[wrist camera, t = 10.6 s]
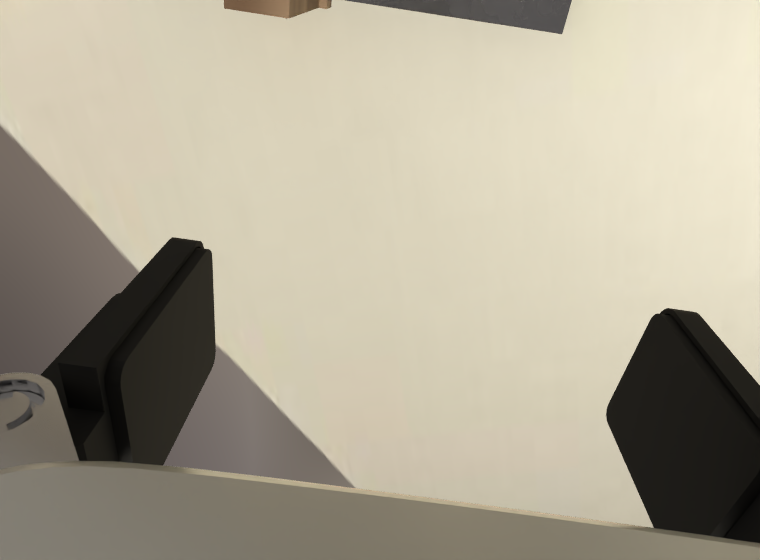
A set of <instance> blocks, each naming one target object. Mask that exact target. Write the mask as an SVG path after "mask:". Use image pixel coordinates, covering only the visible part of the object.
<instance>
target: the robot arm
mask: <svg viewBox="0 0 760 560" xmlns="http://www.w3.org/2000/svg"><path fill="white" fill-rule="evenodd" d="M215 352H216V351H215V321H214V294H213V267H212V253H211V251H210V250H209V249H204V247H203V244H202V242H201V241H195V240H188V239H181V238H171V239H170V240H169V241H168V242H167V243H166V244H165V245H164V246H163V247H162V248H161V250H160V251H159V252H158V253H157V254H156V255H155V256H154V257H153V258H152V259H151V261H150V262H149V263H148V264H147V265H146V266H145V267H144V268H143V269H142V270H141V272H140V273H139V274H138V275H137V276H136V277H135V278H134V279H133V280H132V281H131V283H130V284H129V285H128V286H127V287H126V288H125V289H124V290H123V291H122V292H121V293H119V294H116V295H115V296H114V297H112V298H111V299H110V301H108V303H107V304H106V305H105V306H104V307H103V308H102V309H101V310H100V311H99V312H98V313H97V314H96V316H95V317H94V318H93V319H92V320H91V321H90V322H89V323H88V324H87V325H86V327H85V328H84V329H83V330H82V331H81V332H80V333H79V334H78V335H77V336H76V337H75V338H74V339H73V340H72V342H71V343H70V344H69V345H68V346H67V347H66V348H65V349H64V350H63V351H62V352H61V353H60V355H59V356H58V357H57V358H56V359H55V360H54V361H53V362H52V363H51V364H50V365H49V366H48V368H47V369H46V370H45V371H44V372H43V373H42V374H41V375H36V374H31V373H8V374H2V375H0V560H760V385H759V384H758V383H757V382H756V381H755V379H754V378H753V377H752V376H751V375H750V374H749V372H748V371H747V370H746V369H745V368H744V367H743V365H742V364H741V363H740V362H739V361H738V359H737V358H736V357H735V356H734V355H733V354H732V352H731V351H730V350H729V349H728V348H727V347H726V345H725V344H724V343H723V342H722V341H721V339H720V338H719V337H718V336H717V335H716V334H715V332H714V331H713V330H712V329H711V328H710V327H709V325H708V324H707V323H706V322H705V321H704V319H703V318H702V317H701V316H700V315H699V314H698V313H696V312H691V311H684V310H677V309H670V308H667V309H664V310H663V311H662V312H661V313H660V314H655V315H654V316H653V317H652V318H651V320H650V322H649V324H648V326H647V328H646V330H645V332H644V334H643V336H642V338H641V340H640V342H639V344H638V346H637V348H636V350H635V352H634V354H633V356H632V358H631V360H630V362H629V364H628V366H627V368H626V370H625V372H624V374H623V376H622V378H621V380H620V382H619V384H618V386H617V388H616V390H615V392H614V394H613V396H612V398H611V400H610V402H609V404H608V407H607V412H606V416H607V422H608V424H609V427H610V429H611V431H612V434H613V436H614V438H615V440H616V443H617V445H618V447H619V449H620V452H621V454H622V456H623V459H624V461H625V463H626V465H627V468H628V470H629V472H630V474H631V477H632V479H633V481H634V484H635V486H636V488H637V490H638V493H639V495H640V497H641V499H642V502H643V504H644V506H645V508H646V511H647V513H648V515H649V518H650V520H651V522H652V524H653V527H654V528H650V527H642V526H635V525H628V524H621V523H613V522H606V521H599V520H592V519H584V518H577V517H570V516H562V515H555V514H547V513H540V512H532V511H525V510H517V509H510V508H502V507H495V506H487V505H480V504H472V503H464V502H457V501H449V500H442V499H434V498H426V497H419V496H411V495H404V494H396V493H388V492H380V491H372V490H364V489H356V488H348V487H340V486H332V485H324V484H317V483H308V482H301V481H293V480H285V479H277V478H269V477H261V476H253V475H245V474H236V473H228V472H219V471H210V470H202V469H193V468H183V467H173V466H163V464H164V462H165V460H166V458H167V456H168V454H169V452H170V451H171V448H172V446H173V445H174V442H175V441H176V439H177V436H178V435H179V433H180V431H181V428H182V427H183V425H184V423H185V421H186V419H187V417H188V415H189V412H190V411H191V409H192V407H193V405H194V403H195V401H196V399H197V397H198V395H199V393H200V391H201V389H202V387H203V385H204V383H205V381H206V379H207V377H208V375H209V373H210V371H211V369H212V367H213V364H214V360H215Z"/></svg>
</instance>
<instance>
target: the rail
mask: <svg viewBox="0 0 760 560" xmlns="http://www.w3.org/2000/svg"><path fill="white" fill-rule="evenodd" d="M347 1H353V2H360V3H366V4H372V5H379V6H385V7H392V8H398V9H404V10H411V11H417V12H424V13H430V14H437V15H443V16H449V17H456V18H462V19H469V20H475V21H481V22H488V23H494V24H501V25H507V26H514V27H520V28H526V29H533V30H539V31H546V32H552V33H558V34H562V32H563V29H564V25H565V22H566V19H567V15H568V12H569V8H570V5H571V1H572V0H347Z"/></svg>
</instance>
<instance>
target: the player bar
mask: <svg viewBox="0 0 760 560" xmlns="http://www.w3.org/2000/svg"><path fill="white" fill-rule="evenodd" d="M331 1H332V0H224V8H225V9H232V10H238V11H244V12H251V13H257V14H264V15H270V16H277V17H283V18H291V17H294V16H297V15H300V14H302V13H305V12H308V11H311V10H314V9H316V8H324V9H328V8H330V7H331Z"/></svg>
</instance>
